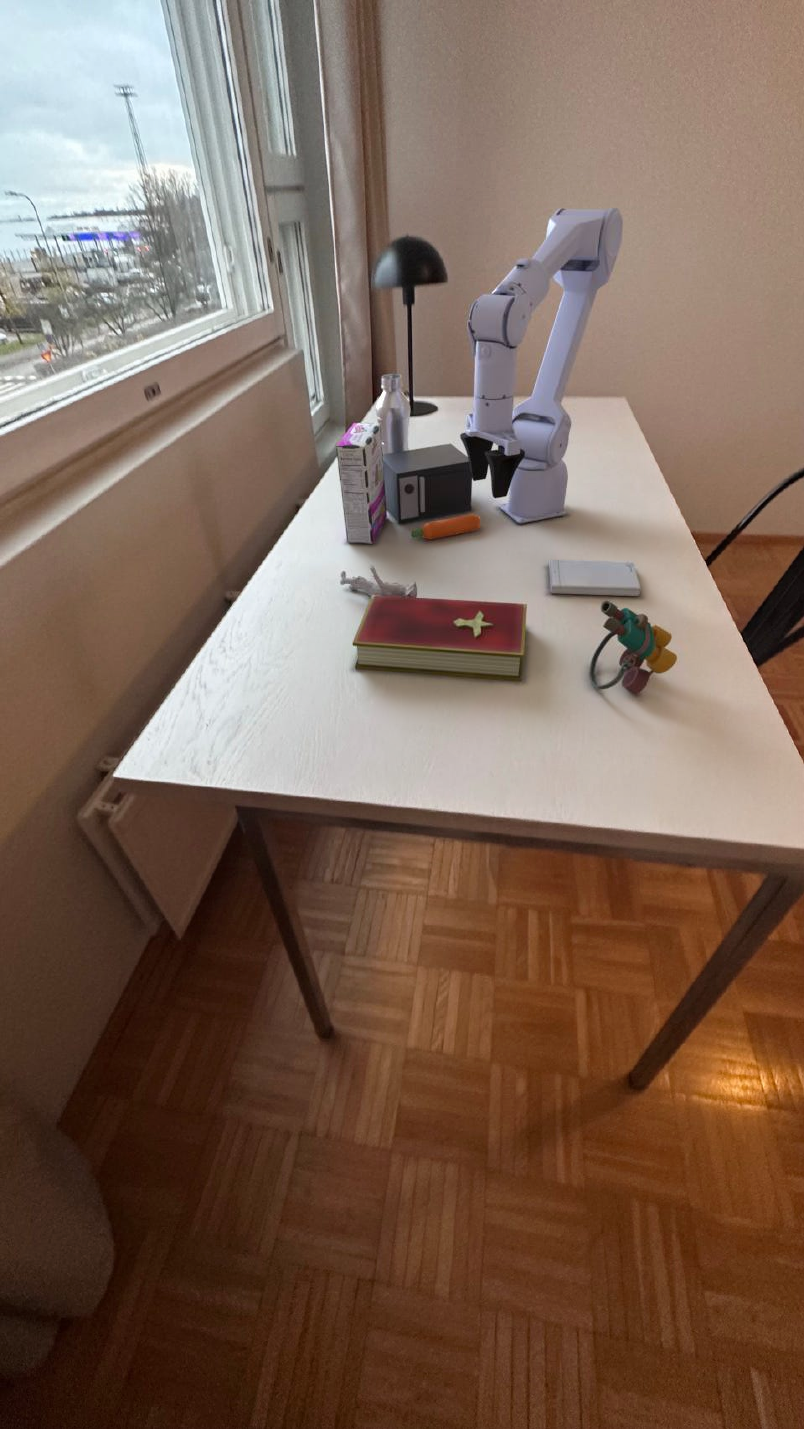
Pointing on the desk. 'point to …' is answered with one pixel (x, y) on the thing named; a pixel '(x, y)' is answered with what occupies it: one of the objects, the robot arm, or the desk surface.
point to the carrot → (448, 527)
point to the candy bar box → (362, 482)
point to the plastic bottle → (393, 415)
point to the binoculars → (634, 648)
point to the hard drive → (593, 578)
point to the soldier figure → (379, 586)
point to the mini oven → (427, 483)
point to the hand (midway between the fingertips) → (489, 487)
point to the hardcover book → (442, 637)
